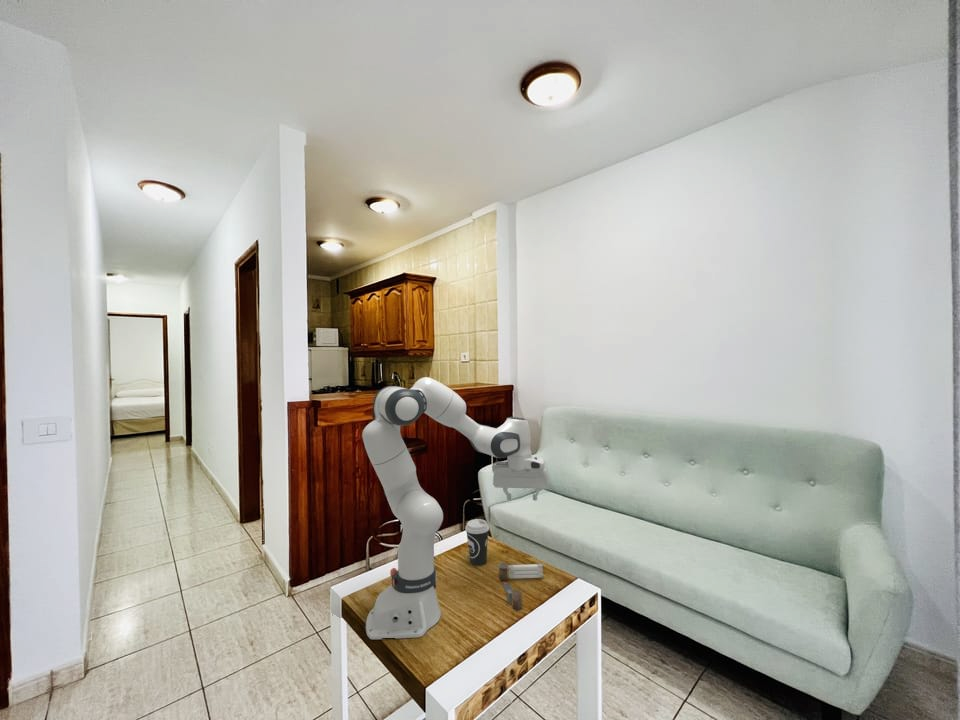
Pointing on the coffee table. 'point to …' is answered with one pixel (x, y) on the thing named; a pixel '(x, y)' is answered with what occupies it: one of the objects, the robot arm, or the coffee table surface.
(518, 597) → the brown rounded cylinder
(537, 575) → the white long block
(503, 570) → the hinge post
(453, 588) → the coffee table surface
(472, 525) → the coffee cup
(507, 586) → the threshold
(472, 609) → the coffee table surface
